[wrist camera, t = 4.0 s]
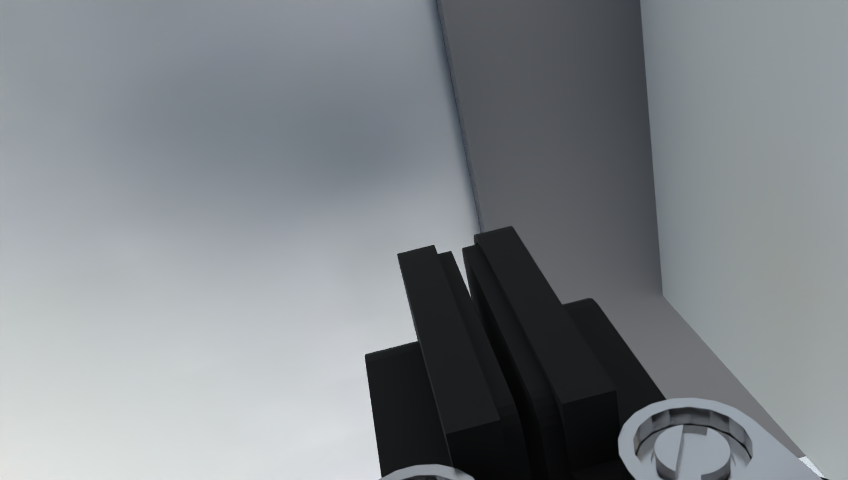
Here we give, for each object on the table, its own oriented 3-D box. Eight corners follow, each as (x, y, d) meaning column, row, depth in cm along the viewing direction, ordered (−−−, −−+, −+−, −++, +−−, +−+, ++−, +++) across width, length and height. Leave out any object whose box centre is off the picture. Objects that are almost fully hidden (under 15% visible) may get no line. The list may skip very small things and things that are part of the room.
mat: (420, -82, 15) (425, -80, 14) (1182, -260, 16) (1214, -266, 15) (535, 512, 22) (541, 528, 21) (1056, 370, 23) (1075, 382, 22)
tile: (632, -100, 15) (1042, -85, 7) (731, -123, 15) (1254, -137, 7) (663, 295, 19) (942, 609, 11) (740, 275, 19) (1077, 570, 11)
